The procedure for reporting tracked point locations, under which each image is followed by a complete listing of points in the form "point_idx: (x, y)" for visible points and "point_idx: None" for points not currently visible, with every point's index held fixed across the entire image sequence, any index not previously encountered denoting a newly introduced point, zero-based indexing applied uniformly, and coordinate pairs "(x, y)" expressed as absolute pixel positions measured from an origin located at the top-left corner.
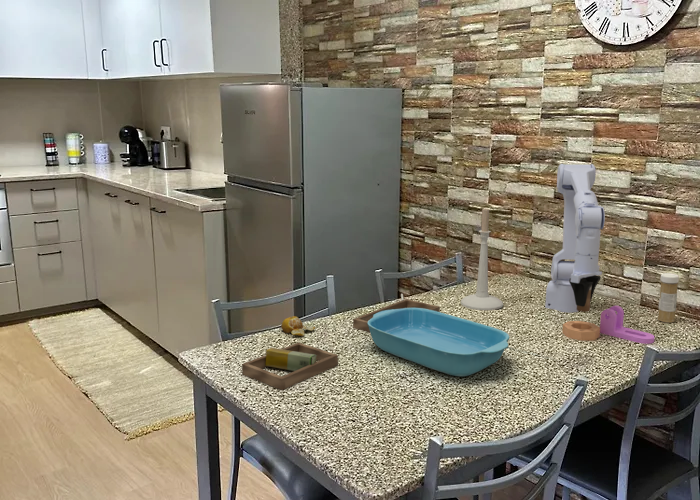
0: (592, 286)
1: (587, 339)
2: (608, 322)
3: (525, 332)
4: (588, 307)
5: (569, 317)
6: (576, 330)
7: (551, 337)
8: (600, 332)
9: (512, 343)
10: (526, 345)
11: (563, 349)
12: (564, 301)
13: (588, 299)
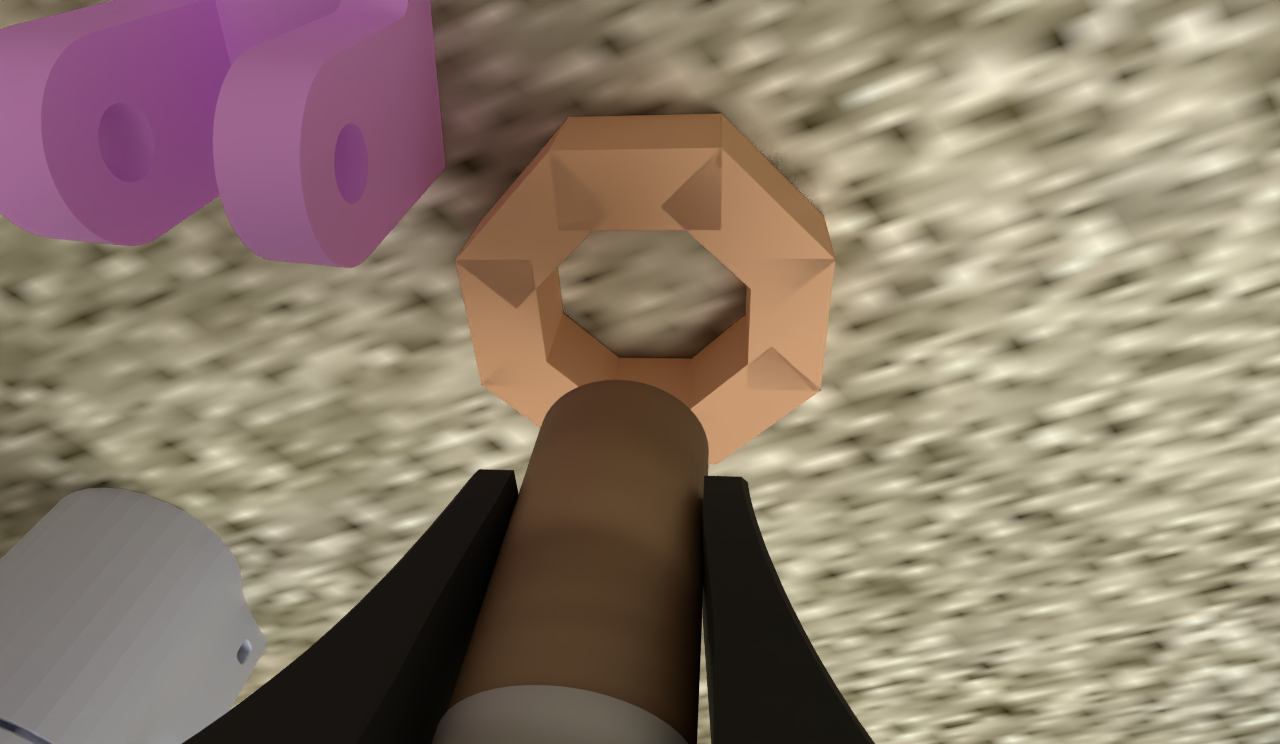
0: (393, 721)
1: (779, 173)
2: (382, 117)
3: (880, 588)
4: (637, 422)
5: (301, 487)
6: (818, 317)
7: (886, 433)
8: (442, 157)
9: (1198, 578)
10: (1206, 502)
11: (1190, 252)
12: (177, 621)
13: (633, 526)
